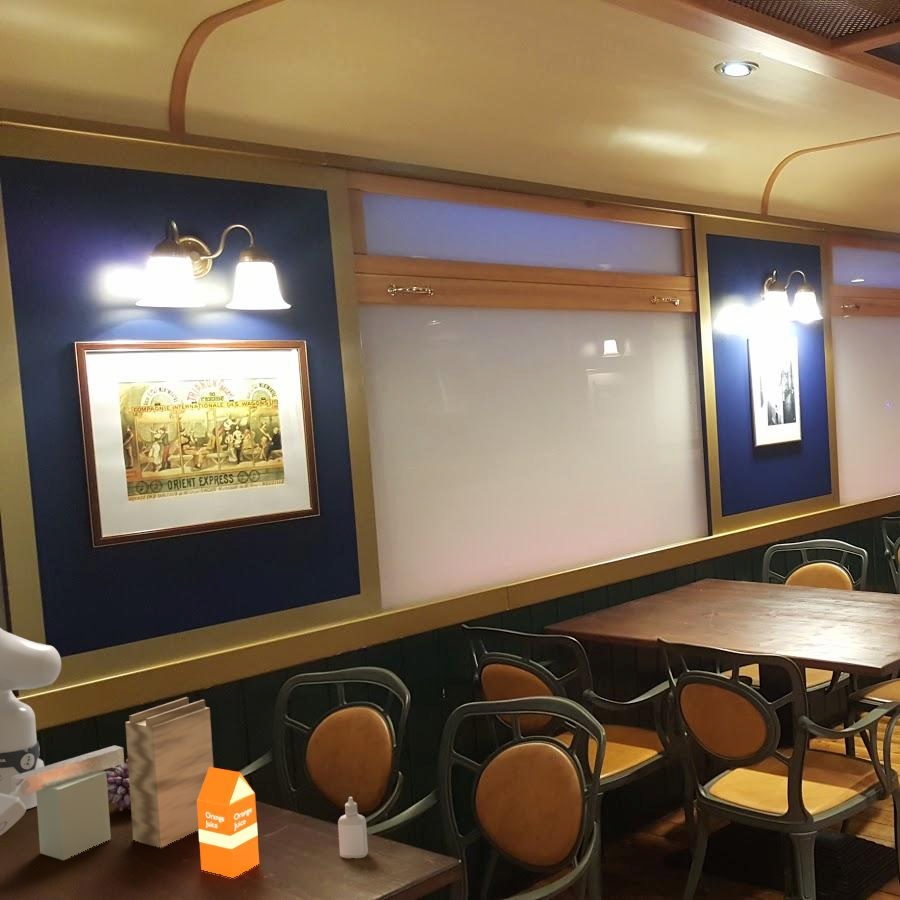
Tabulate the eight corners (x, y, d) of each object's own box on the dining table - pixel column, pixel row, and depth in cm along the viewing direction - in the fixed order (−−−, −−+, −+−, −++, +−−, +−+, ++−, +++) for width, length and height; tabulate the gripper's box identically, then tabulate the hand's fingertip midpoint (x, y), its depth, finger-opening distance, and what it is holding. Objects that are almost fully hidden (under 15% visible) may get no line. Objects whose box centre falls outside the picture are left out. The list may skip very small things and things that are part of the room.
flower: (110, 823, 238) (107, 771, 238) (99, 808, 249) (96, 758, 248) (161, 811, 244) (158, 761, 244) (148, 796, 254) (145, 748, 254)
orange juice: (232, 879, 205) (226, 778, 204) (200, 871, 210) (194, 772, 209) (260, 863, 212) (254, 766, 211) (228, 856, 216) (222, 760, 216)
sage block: (40, 853, 223) (35, 783, 223) (87, 833, 233) (83, 766, 233) (63, 860, 219) (58, 789, 218) (110, 839, 229) (106, 771, 228)
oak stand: (133, 840, 227) (124, 715, 227) (189, 815, 241) (181, 696, 240) (160, 848, 222) (152, 719, 222) (216, 821, 236) (209, 700, 235)
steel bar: (20, 796, 216) (12, 792, 218) (124, 763, 233) (115, 760, 236) (19, 779, 215) (11, 776, 218) (123, 747, 233) (114, 745, 236)
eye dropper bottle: (356, 862, 210) (352, 803, 209) (336, 856, 213) (333, 798, 213) (371, 854, 213) (367, 796, 213) (351, 848, 217) (348, 791, 216)
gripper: (-19, 829, 197) (35, 774, 207) (-78, 812, 208) (-24, 760, 218) (-1, 852, 200) (51, 796, 209) (-61, 834, 211) (-9, 781, 221)
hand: (12, 778), depth 214 cm, fingers open, 8 cm apart
